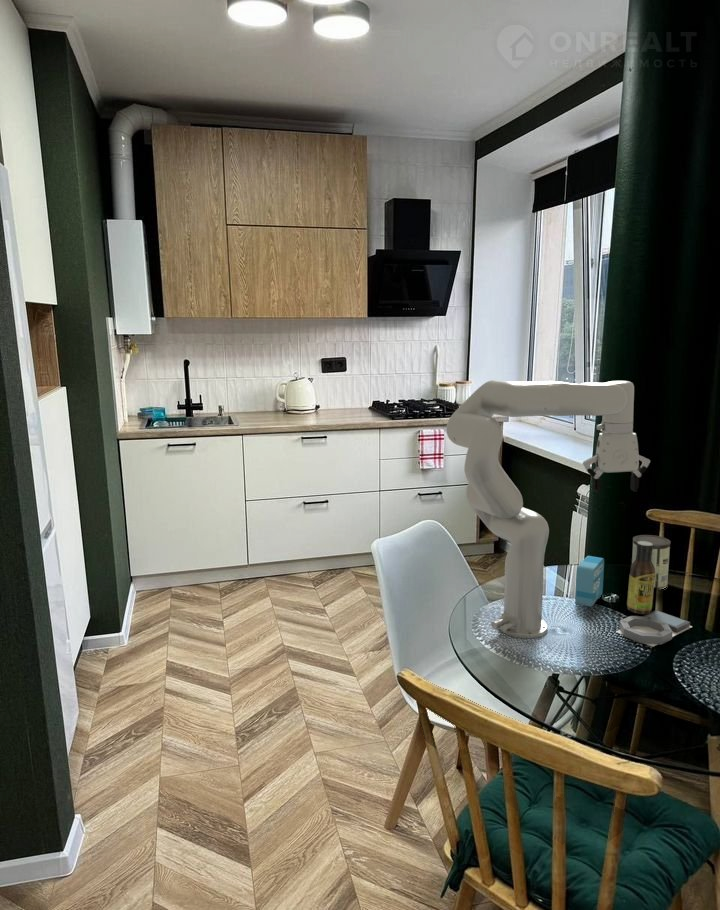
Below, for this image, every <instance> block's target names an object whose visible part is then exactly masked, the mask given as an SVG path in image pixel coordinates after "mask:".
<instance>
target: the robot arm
mask: <svg viewBox="0 0 720 910" xmlns="http://www.w3.org/2000/svg"><path fill="white" fill-rule="evenodd" d="M634 401H635V385H634V382H631V381H629V380H611V381H606V382H594V381H591V382H590V381H589V382H588V381H587V382H582V383H573V382H571V383H570V382H566V381H555V380H547V381H546V380H544V381H542V380H541V381H512V380H511V381H507V380H498V379H497V380H496V379H491V380H488V381H486V382H485V383H482V385H481V386H479V387H478V388H477V389H476V390H475V391H474V392H473V393H471V395H470V396H468V397H467V399H466V400H465V401H464V402H463V403H462V404H461V405H460V406H459V407H458V408H457V409H455V411H454V412H453V413H452V414H451V416H450V417H449V418H448V421H447V423H446V428H445V429H446V430H445V431H446V435H447V438H448V439H449V440H450V442H452V443H453V444H455V445H457V446H459V447H463V448H467V452H466V455H465V460H464V461H465V462H464V467H463V468H464V475H465V478H466V479H467V481H468V483H467V486H466V489H465V490H466V499H467V502H468V505H469V506H470V507H471V509H472V510H473V511H474V513H475V514H476V515H477V516H478V517H479V520H481V521H482V523H483V524H484V525H485V526H486V528H488V530H489V531H490V532H492V534H494V535H495V536H496V537H499V538H500V539H503V540H505V541H507V542H508V543H510V548H509V550H508V551H507V553H506V556H505V561H504V590H503V591H504V593H503V598H504V599H503V600H504V601H503V611H502V612H501V617H500V618H498V619H496V620H494V621H491V623H490V625H491V628H492V629H493V630H497V629H499V630H500V631H501V633H503V634H505V635H507V636H510V637H513V638H518V639H535V638H540V637H542V635H543V636H544V635H545V633H546V634H547V633H548V630H547V629H548V627H549V626H548V624H547V622H546V621H545V620H544V619H542V618H543V591H544V590H543V588H544V564H545V563H544V562H545V554H546V549H547V548H546V547H547V544H548V539H549V534H550V528H549V524H548V521H547V520H546V519H545V517H543V515H541V514H539V513H538V512H536V511H534V510H531V509H529V508H526V507H524V501H523V500H524V499H523V495H522V494H521V491H520V490H519V489H518V487H517V486H516V485H515V483H514V482H513V481H512V479H511V478H510V477H509V475H508V474H507V473H506V471H505V470H504V468H503V467H502V465H501V463H500V461H499V452H500V448H501V445H502V444H503V443H502V442H503V437H504V436H503V435H504V434H503V428H502V426H501V424H500V422H499V421H497V420H496V419H495V418H492V417H493V416H494V415H497V416H501V417H502V416H503V417H506V418H507V417H509V418H519V417H520V418H521V417H524V418H525V417H526V418H527V417H545V416H547V417H551V416H552V417H553V416H554V417H568V416H570V417H571V416H572V417H573V416H575V417H577V416H582V417H583V416H584V417H585V416H587V417H588V416H589V417H591V416H595V417H596V416H602V418H601V419H602V420H601V423H600V424H596V430H598V431H600V432H599V434H598V435H599V436H598V439H597V443H596V450H595V455H593V456H591V457H589V458H587V459H586V460H584V461H583V462H582V466H583V467H584V469H585V471H586V472H587V473H588V474H589V475H590V477H592V490H593V491H594V492H595V493H597V494H601V492H602V490H601V489H602V487H601V485H602V480H601V478H600V477H601V476H602V475H603V474H604V473H628V472H631V474H630V485H629V487H630V490H631V491H632V492H634V493H637V492H638V489H639V487H640V478H641V477H642V475H643V474H644V473H645V472H646V471H647V468H648V467H649V465H650V463H651V460H650V459H649V458H646V457H645V456H642V455H640V454H639V442H638V436H637V433H636V432H634V430H633V429H634V408H635V407H634V406H635V405H634V403H635V402H634ZM639 461H640V462H641V465H640V462H639ZM592 464H595V468H594V469H592V467H591V465H592Z"/></svg>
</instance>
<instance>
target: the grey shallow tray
mask: <svg viewBox="0 0 720 910" xmlns="http://www.w3.org/2000/svg"><path fill="white" fill-rule="evenodd" d="M691 628H693V626H692V625H690V626H689V627H688V628H686V629H684V630H682V631H680V632H678V633H676V632H673V631H672V630H671V628H670V627H669V625H668V624H667V623H665V622H662V621H660V620H657V619H654V618H651V617H644V616H642V615H641V616H639V615H630V616H629V615H628V616H627V617H625V618H623V619H621V620H619V629H618V630H616V631H615V633H618V634H620V635H622V636H623V637H624V638H628V639H629V640H632V641H635V642H637V643H639V644H645V645H647V646H649V647H652V648H654V647H655V646H658V645H663V644H665V643H668V642H669V641H671V640H672V639H673V638H674V637H675V636H677V635H679V634H682V633H683V632H685V631H687V630H690V629H691Z"/></svg>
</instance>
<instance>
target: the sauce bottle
mask: <svg viewBox="0 0 720 910" xmlns="http://www.w3.org/2000/svg"><path fill="white" fill-rule="evenodd" d="M652 550H653V544H652V543H650V542H646V541H639V542H637V555H636V560H635V561H634V562H633V563H632V562H631V565H630V571H629V575H628V576H629V577H628V587H627V588H628V590H627V600H626V606H627V607H626V609H627V610H628V611H629V612H631V613H632V614H633V613H634V614H638V615H647V614H649V613H651V612H652V608H653V601H654V591H655V590H654V589H655V587H654V580H655V568H654V565H653V564H652V562H651V559H652V558H651V557H652Z"/></svg>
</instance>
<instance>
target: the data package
mask: <svg viewBox="0 0 720 910" xmlns="http://www.w3.org/2000/svg"><path fill="white" fill-rule="evenodd" d="M604 568H605V559H604V558H603V557H597V556H592V555H587V556H586V557H585V558H584V559H583V560H582V561H581V562H580V563H579V564H578V565H577V567H576V576H575V577H576V578H575V597H574V598H575V600H574V601H575V602H574V603H575V606H576V605H579V606H578V607H581V606H587V607H590V608H591V607H593V606H594V604H595V603H596V602H597V601H598V600H599V599H601V598H602V597H601V595H602V596H603V592H604V591H603V589H604V574H605V573H604V572H605V570H604ZM600 597H601V598H600Z"/></svg>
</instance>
